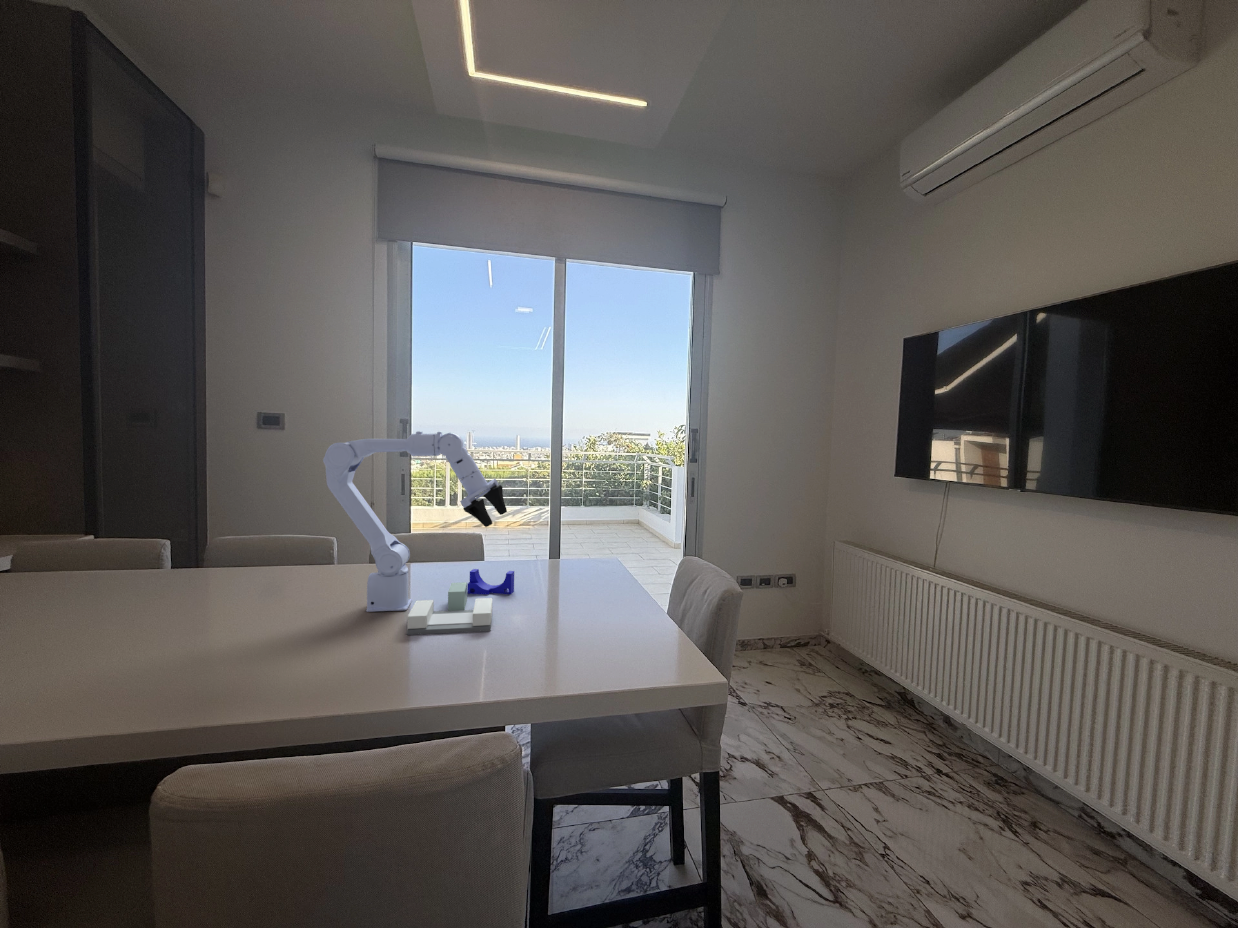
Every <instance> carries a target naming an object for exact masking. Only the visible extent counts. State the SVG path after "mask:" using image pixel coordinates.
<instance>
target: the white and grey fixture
mask: <svg viewBox="0 0 1238 928" xmlns="http://www.w3.org/2000/svg"><path fill="white" fill-rule="evenodd" d="M434 602H435V601H434V599H427V600H422V599H421V600H416V601H415V602H414V604H413V606H412V607H411V610H410V611H409V613H408V614H407V625H406V626H407V629H406V636H414V635H417V636H418V635H433V634H435V635H436V634H456V633H472V632H473V633H474V632H476V633H477V632H490V631H491V629H492V620H493V619H492V618H493V597H482V598H481V597H480V598H475V601H474V606H473V609H465V610H456V611H448V610H435V611H434V609H435V608H434V606H435V605H434Z"/></svg>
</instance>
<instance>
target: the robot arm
mask: <svg viewBox="0 0 1238 928" xmlns="http://www.w3.org/2000/svg"><path fill="white" fill-rule="evenodd" d="M391 452H396V453H397V452H407V453H408V454H410V455H411V457H438V456H440V455H442V456H444V457H445V458H446V460H447V461H448V462H449V463H448V464H449V466H450V467H451V469H452V471H453V473H454V474H455V476H456V477H457V479H458V480H459V482H460V483H461V485H462V487H463V489H464V490H465V492H466V494H467V496H465V497H464V498H463V499H461V500H460V501H459V502H460V504H461V505H462V507H463V508H462V509H463V512H465V513H467V514H469V515H471V516H473V517H474V518H475V519H476V520H477V521H479V522H480V524H482V525H483V526H484V527H485V528H487V527H490V526H492V524H494V523H493V521H492V520H493V519H491V516H490V515H489V513H488V510H487V508H486V503H485V500H484V499H483V498H482V499H480V498H481V497H484V498H485V499H486V500H487V501H489V503H490V504H491V505H492V506H493V508H494V509H495V510H496V512H497V513H498V514H499V515H500V516H502V515H504V514H506V513H508V511H507V510H508V509H507V507H506V504H505V499H504V495H503V486H502V484H500V483H498V481H497V479H496V478H493V479H492V480H489V481H488V482H487V480H486V478H485V477H484V475H483V473H482V472H481V470H480V468H479V467H478V465H477V463H476V462H475V460H474V458H473V456H472V455H471V454H470V453H469V451H468V449H467V448H466V447H465V446H464V442H463V439H462V437H461V436H460V435H458V434H457V433H454V432H453V433H451V432H448V433H445V434H443V432H442V431H437V432H436V433H423V431H420V430H417V431H416V432H415V433H411V434H410V435H409V436H408V437H407V438H364V439H363V438H362V439H357V440H350V441H346V442H334V443H332V444H331V445H329V447H328V448H327V449H326V452H325V454H324V457H323V458H322V462H323V464H324V467H325V477H326V478H325V479H326V486H327V488H328V490H329V491H330V492H331V493H332V495H333V496H334V498H335V499H336V501H337V502H338V503H339V504H340V505H341V507H342V509H343V510H344V511H345V513H346V514H347V515H348V517H349V518H350V520H351V521H352V523H354V525H355V527H356V528H357V529H358V530H359V532H360V533H361V534H362V536H363V538H364V540H366V541H367V542H368V544H369V547H370V553H371V556H373V559H374V561H375V567H376V569H377V571H376V572H371V573H369V575H368V576H367V577H368V578H367V582H366V584H367V585H366V612H367V613H369V612H391V611H393V612H394V611H397V612H398V611H406V610H408V609H409V607H410V605H411V603H412V602H413V598H409V568H408V566H407V564H406V563H408V561H409V559H410V557H411V552H410V549H409V547H408V546H407V545H405V544H404V543H402V542H400V540H398V538H397V536H395V535H393V534H392V533H390V532H389V531H388V529H386V527H385V526H384V524H383V523H382V521H381V520H380V518H379V517H378V516H377V514H376V513H375V511H374V510H373V509H372V507H371V506H370V504H369V503H368V502H367V501H366V499H365V498H364V496H363V495H362V493H360V491H359V489H358V488H357V486H356V485H355V484H354V482H353V481H354V477H355V474H356V471H357V469H358V467H359V466H360V465H361V463H362V462H363V460H364V459H365V458H368V457H370V456H371V455H373V454H375V453H391ZM479 499H480V500H479Z"/></svg>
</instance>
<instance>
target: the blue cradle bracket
mask: <svg viewBox="0 0 1238 928" xmlns="http://www.w3.org/2000/svg"><path fill="white" fill-rule="evenodd" d="M514 591H515V570H508V571H507V572H506V573H505V578H504V580H503V582H502V583H500V584H497V585H495V584H492V585H491V584H489V583H487V582H486V581H484V580H483V578H482V577H481V574H480V570H479V568H473V569H472V570H469V582H467V595H469V594H470V595H487V596H488V595H490V594H498V595H499V594H500V595H501V594H502V595H512V594H513V593H514Z"/></svg>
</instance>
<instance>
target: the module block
mask: <svg viewBox="0 0 1238 928" xmlns="http://www.w3.org/2000/svg"><path fill="white" fill-rule="evenodd" d="M448 588H449V589H448V591H447V611H456V610H466V605H467V602H468V594H467V593H468V582H466V581H465V582H463V581H462V582H451V583H450V586H449V587H448Z"/></svg>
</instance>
